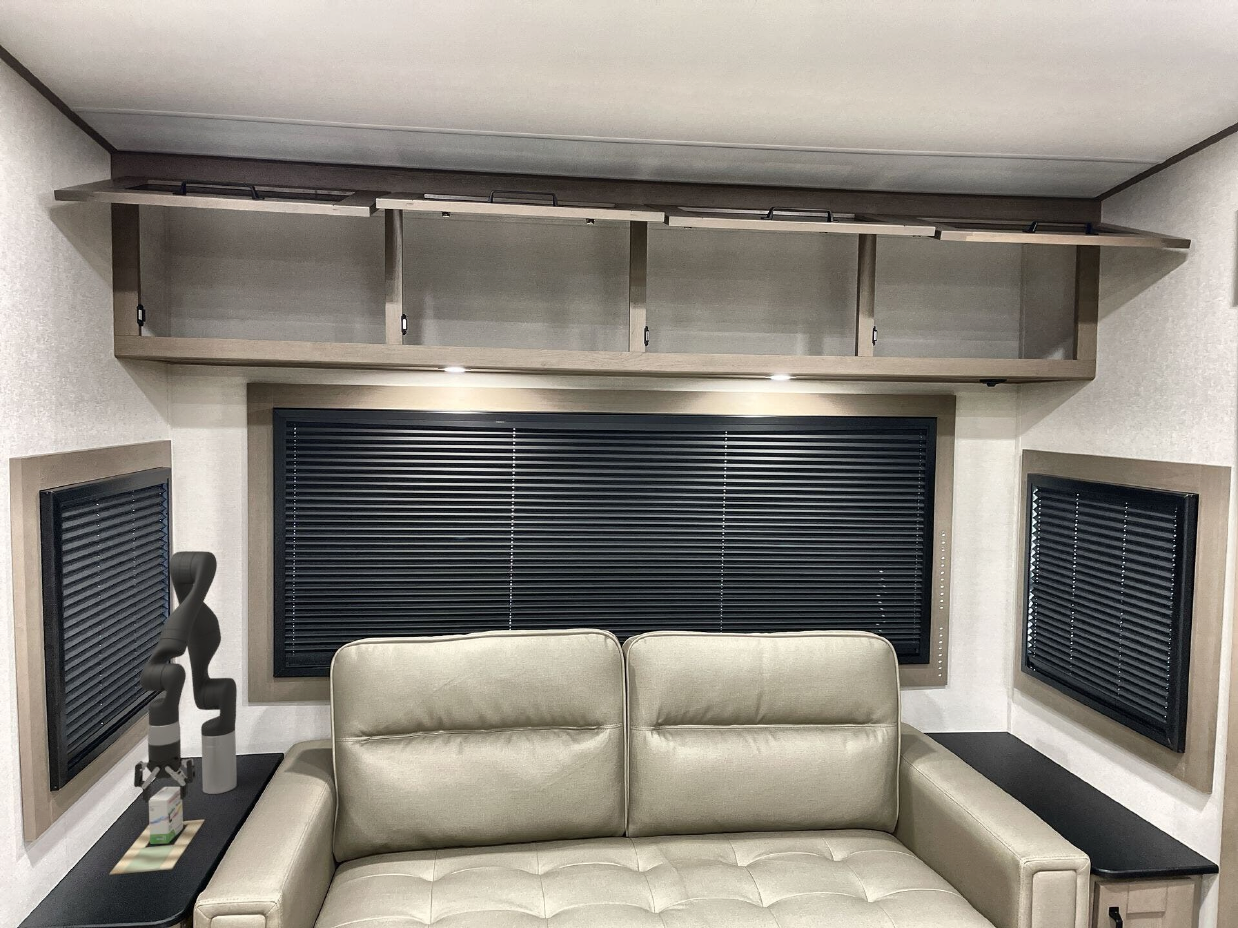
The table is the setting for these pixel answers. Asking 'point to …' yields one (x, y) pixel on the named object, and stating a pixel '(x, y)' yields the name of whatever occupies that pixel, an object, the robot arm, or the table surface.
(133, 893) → the table surface
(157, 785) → the table surface
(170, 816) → the ink box
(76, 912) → the table surface
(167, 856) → the beige rectangular frame
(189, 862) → the table surface
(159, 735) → the robot arm
